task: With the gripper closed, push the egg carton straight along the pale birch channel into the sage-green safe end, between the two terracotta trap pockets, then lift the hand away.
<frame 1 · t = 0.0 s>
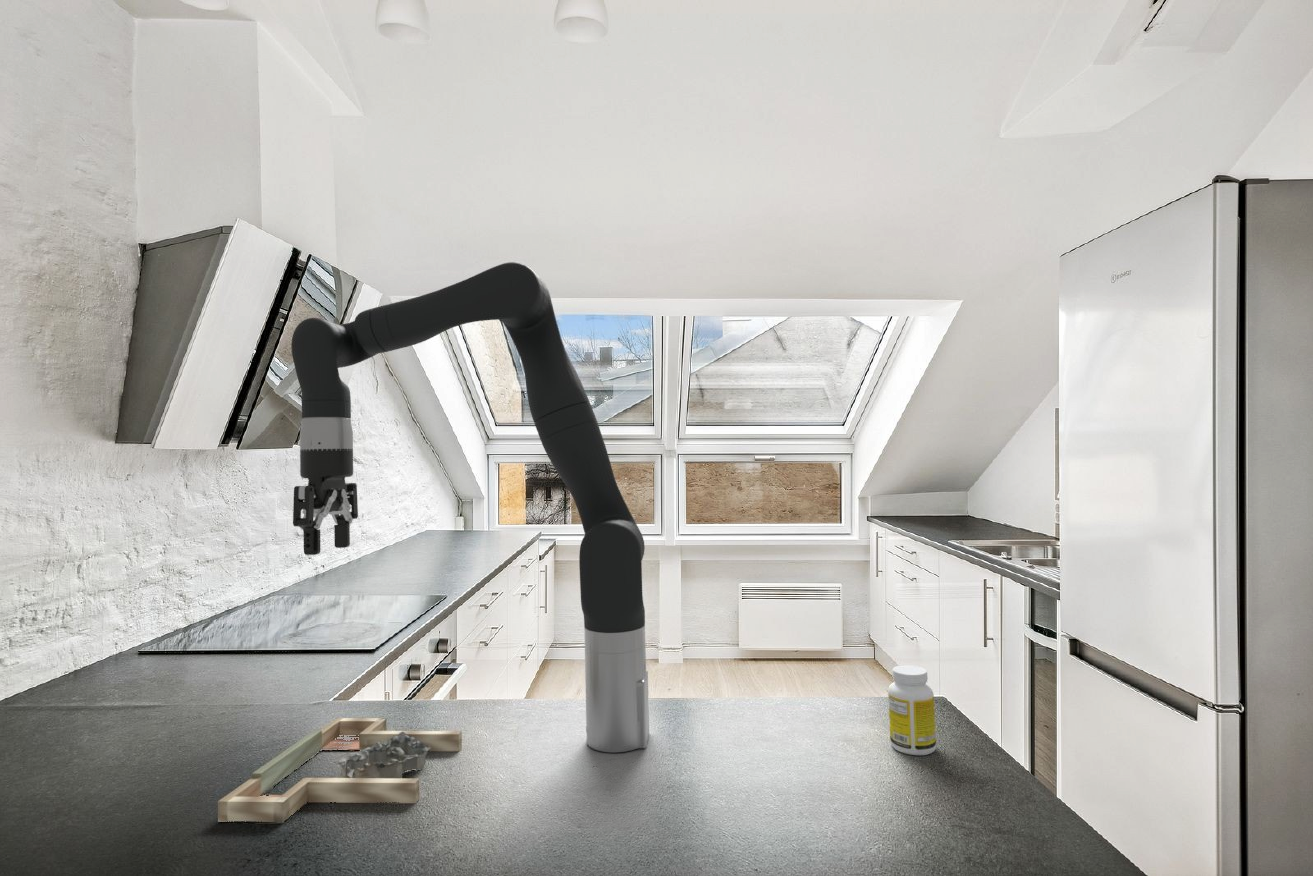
hand: (327, 550, 107), 29 cm above the counter, tool pointing down, fingers open, 8 cm apart
egg carton: (384, 776, 94), on the counter
pill bottle: (913, 749, 98), on the counter
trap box: (363, 772, 94), on the counter
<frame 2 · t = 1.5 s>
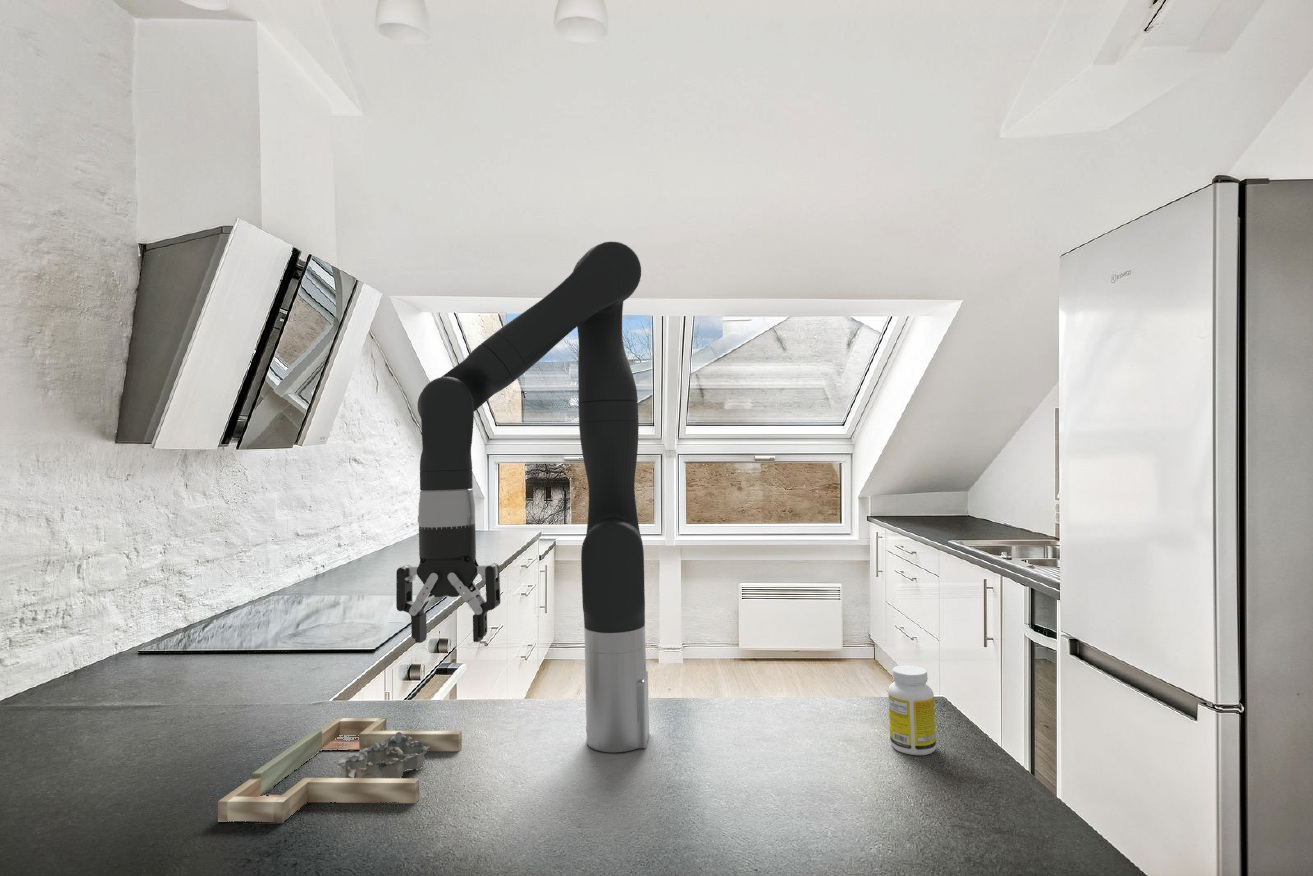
hand: (449, 641, 94), 18 cm above the counter, tool pointing down, fingers open, 7 cm apart
nothing on the counter moved.
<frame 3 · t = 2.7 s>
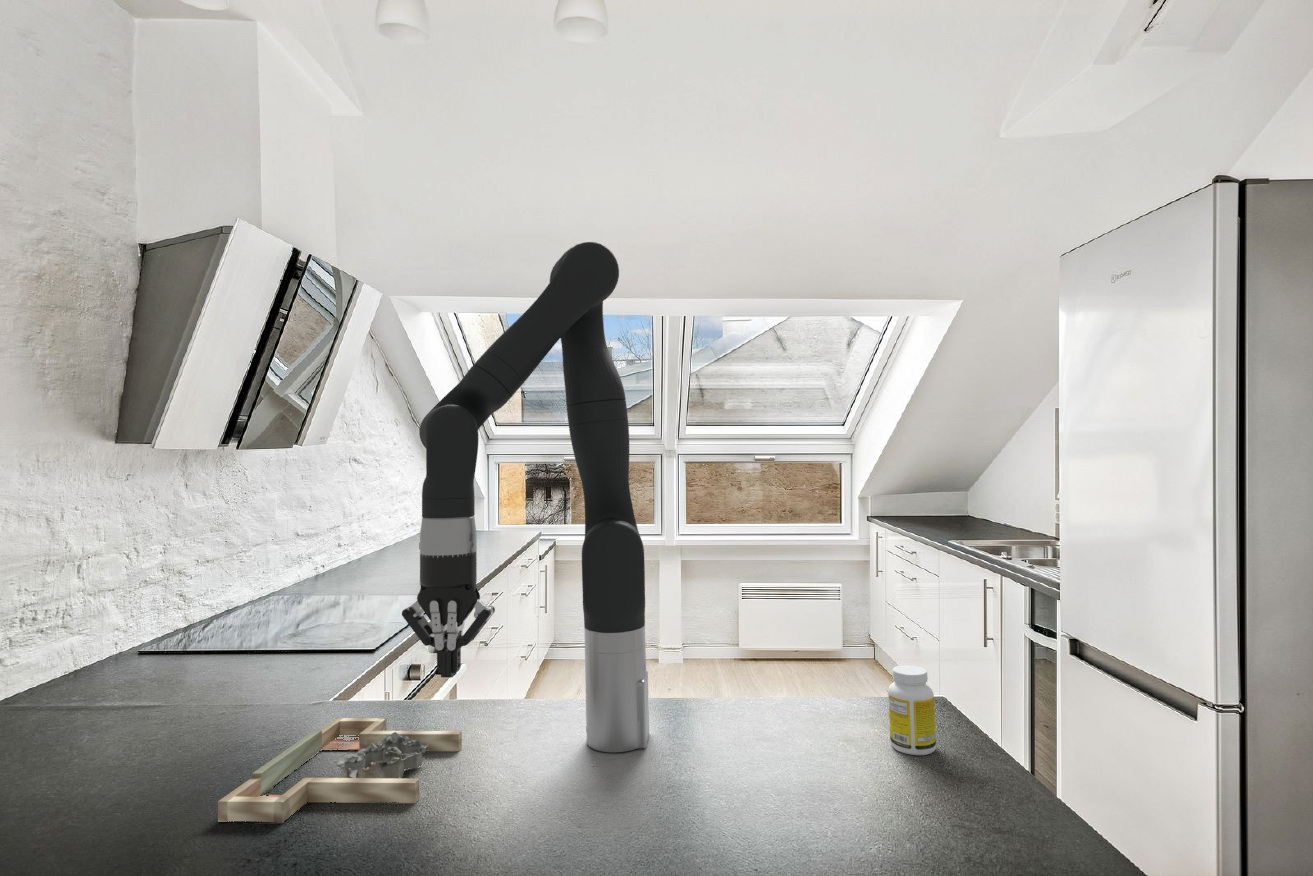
hand: (448, 675, 94), 13 cm above the counter, tool pointing down, fingers closed
nothing on the counter moved.
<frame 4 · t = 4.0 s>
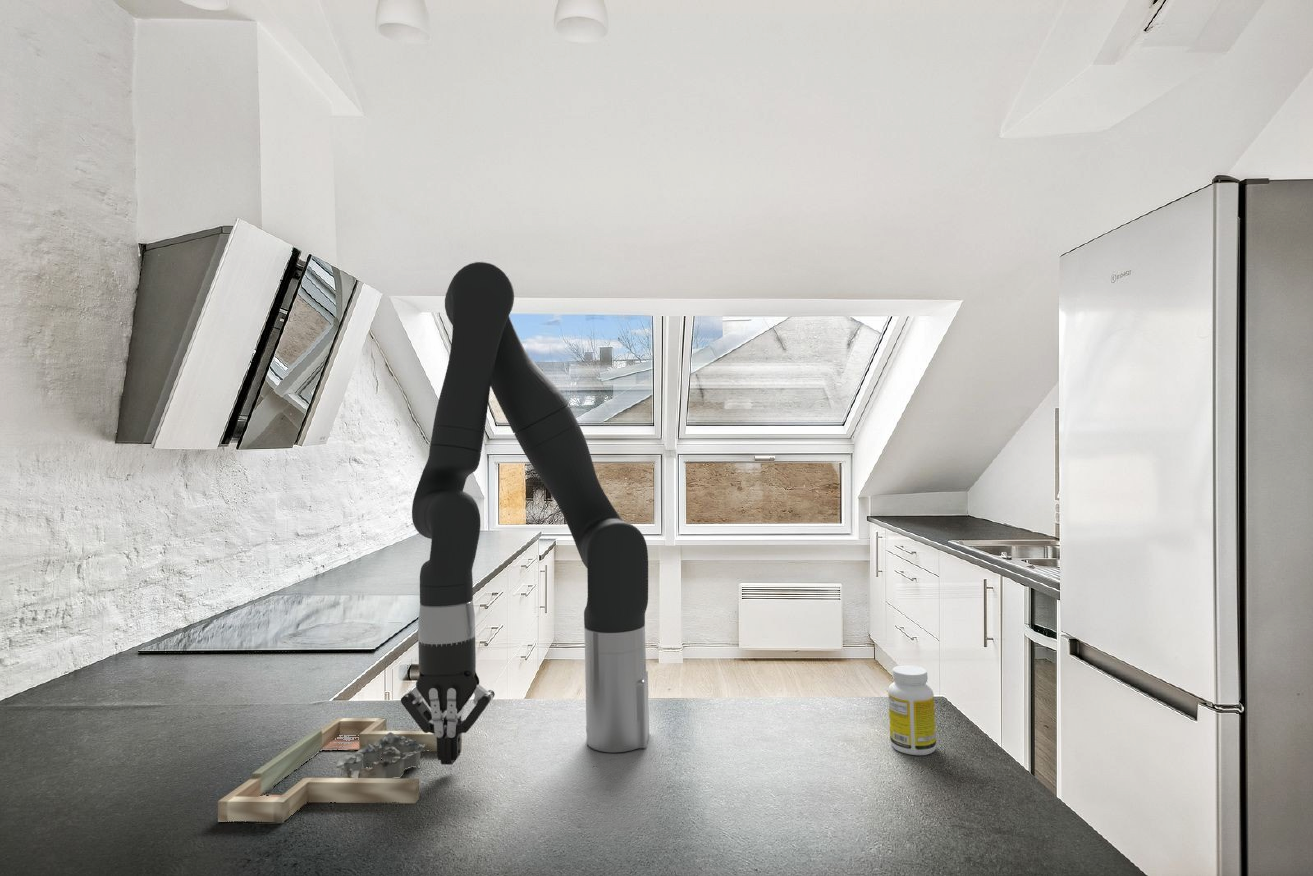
hand: (448, 762, 93), 2 cm above the counter, tool pointing down, fingers closed
nothing on the counter moved.
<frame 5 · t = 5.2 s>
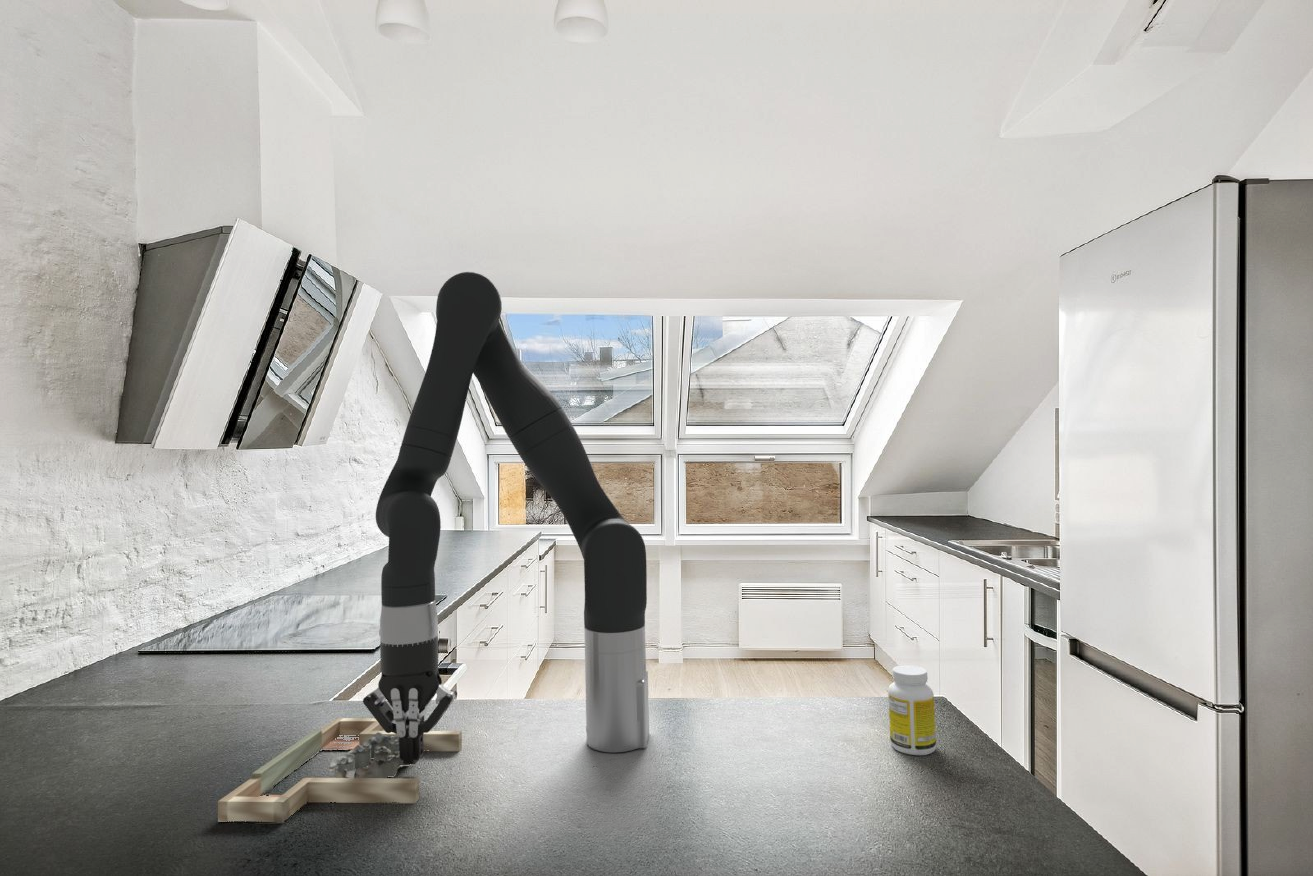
hand: (411, 761, 94), 2 cm above the counter, tool pointing down, fingers closed
egg carton: (373, 776, 94), on the counter
everything else where it was.
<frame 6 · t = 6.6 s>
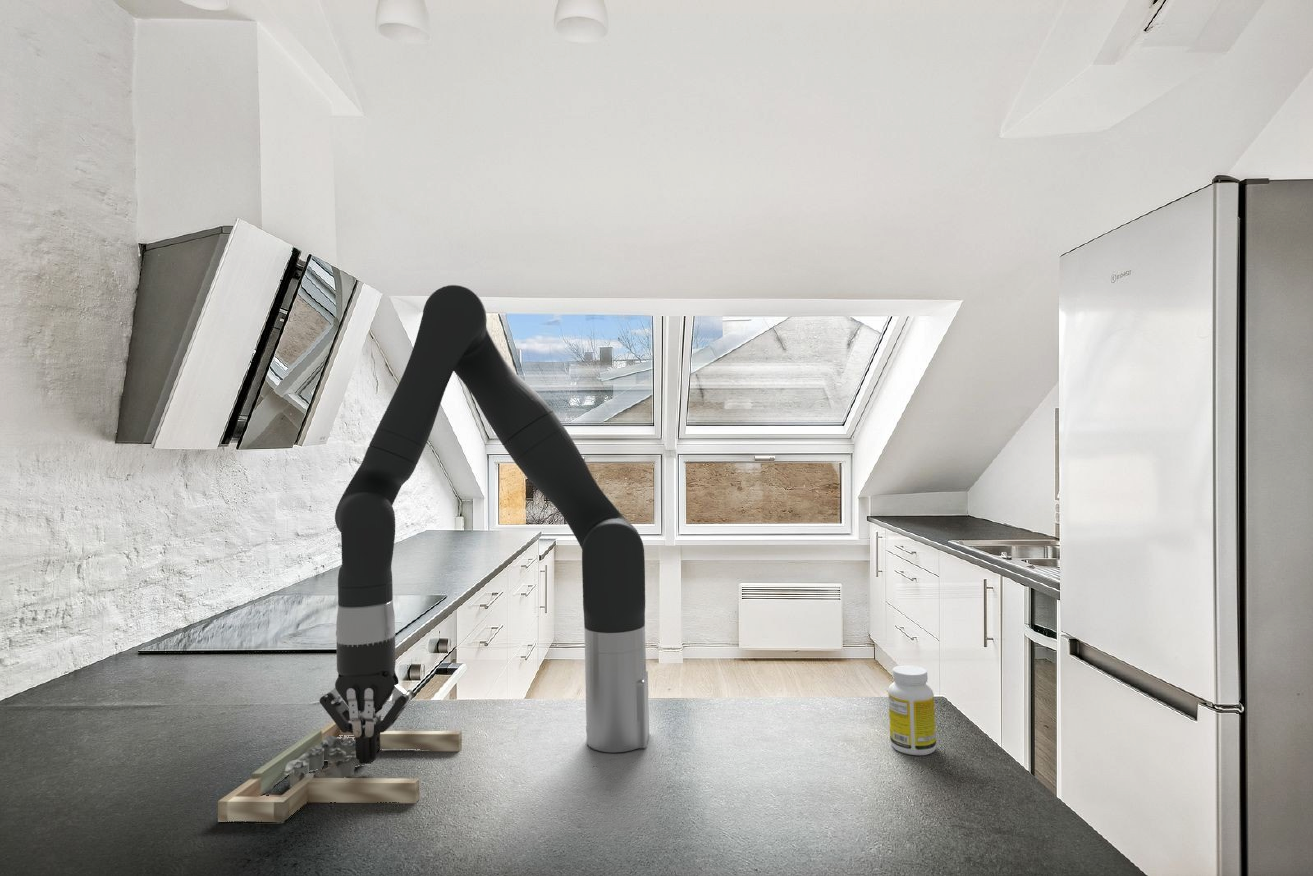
hand: (368, 761, 94), 2 cm above the counter, tool pointing down, fingers closed
egg carton: (329, 778, 94), on the counter
everything else where it was.
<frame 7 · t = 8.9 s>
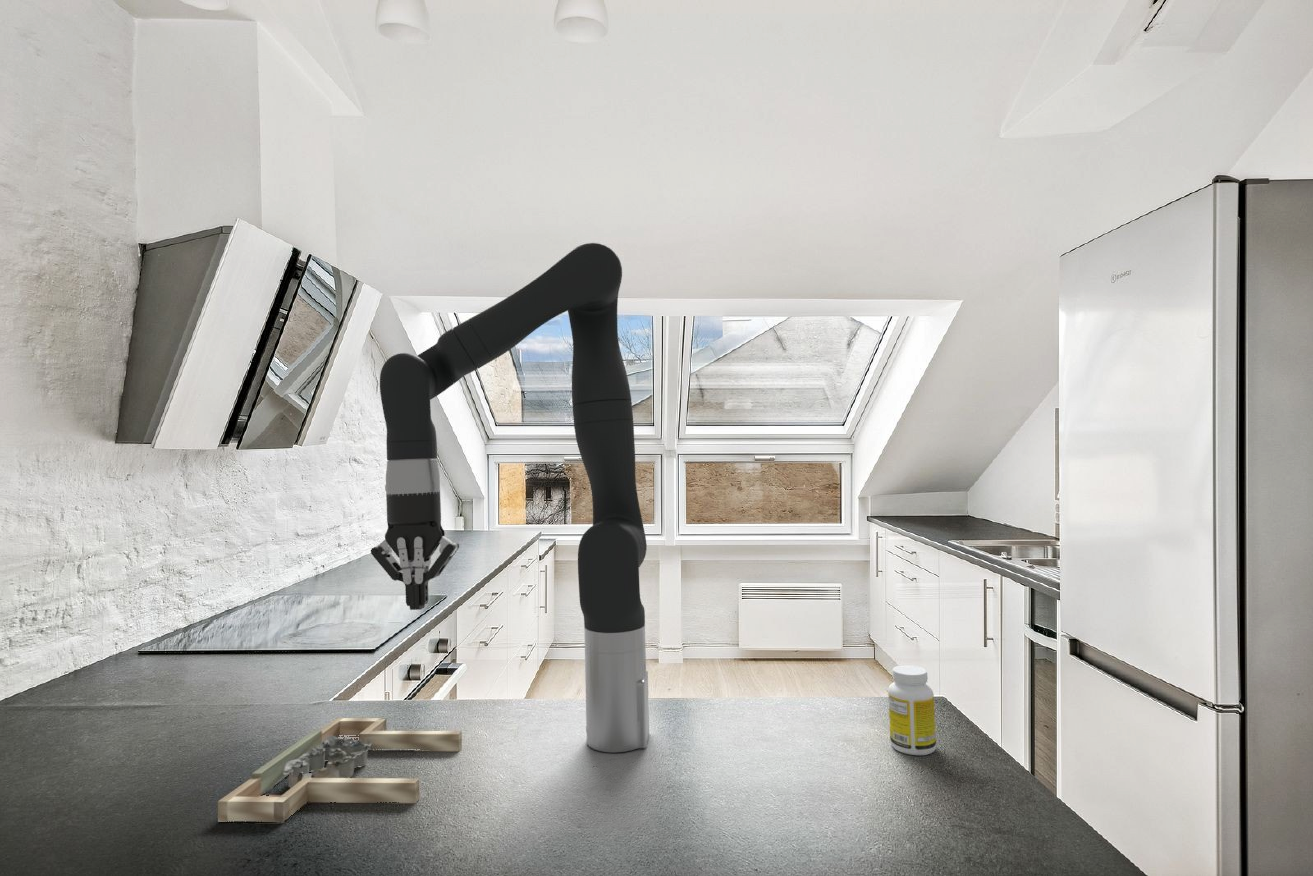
hand: (417, 608, 100), 21 cm above the counter, tool pointing down, fingers closed
nothing on the counter moved.
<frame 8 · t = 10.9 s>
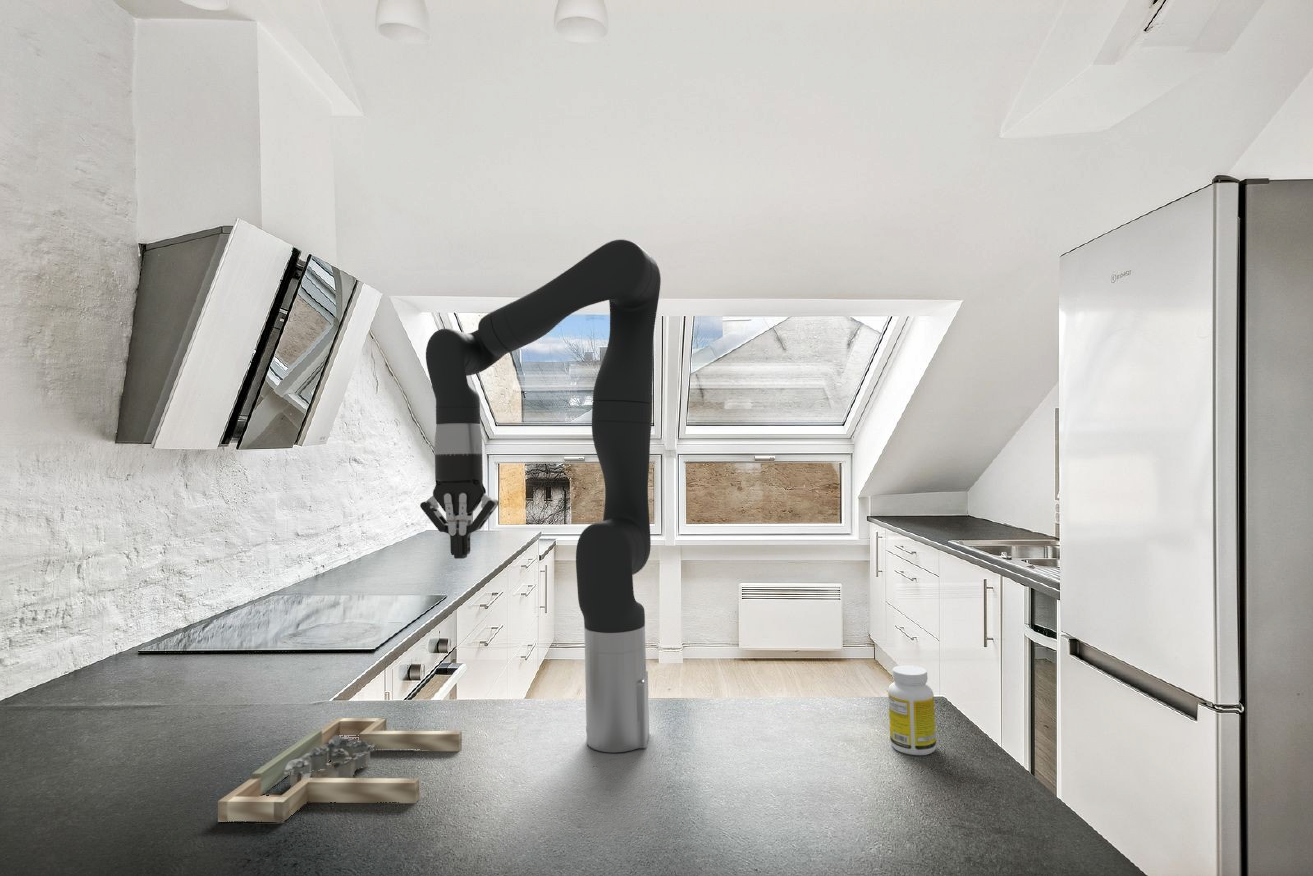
hand: (460, 557, 111), 27 cm above the counter, tool pointing down, fingers closed
nothing on the counter moved.
at the end: egg carton 0.9 cm from the target spot on the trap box, point -0.5 cm above the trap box's base; egg carton tilted 0°; the gripper is holding nothing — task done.
